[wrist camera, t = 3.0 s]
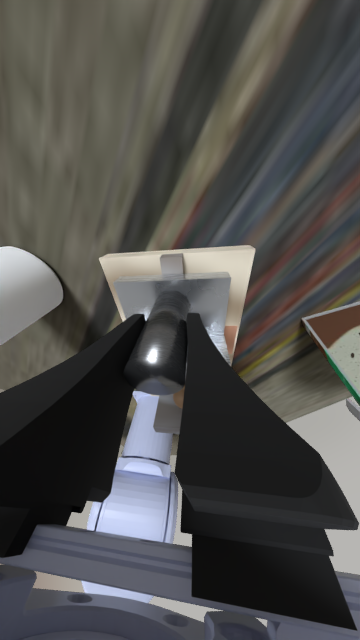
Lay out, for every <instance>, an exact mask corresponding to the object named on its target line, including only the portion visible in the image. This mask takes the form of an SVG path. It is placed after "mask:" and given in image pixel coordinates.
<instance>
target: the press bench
mask: <svg viewBox="0 0 360 640" xmlns="http://www.w3.org/2000/svg"><path fill="white" fill-rule="evenodd" d="M254 254H255V248H253V247H252V246H250V245H243V246H228V247H212V248H196V249H180V250H164V251H149V252H133V253H117V254H107V255H105V256H103V257H101V258H99V260H100V262H101V265H102V268H103V270H104V273H105V276H106V278H107V281H108V284H109V286H110V289H111V292H112V294H113V297H114V300H115V302H116V305H117V308H118V310H119V313H120V315H121V318H122V321H125V320H126V318H125V315H124V312H123V309H122V306H121V304H120V301H119V298H118V295H117V292H116V290H115V287H114V284H113V282H114V281H115V280H117V279H118V278H119V277H120V276H143V275H165V274H188V273H210V272H228V273H229V275H230V276H231V284H230V291H229V299H228V306H227V314H226V321H225V328H224V336H225V341H226V345H227V349H228V354H229V358H230V362H231V364H232V359H233V354H234V350H235V345H236V340H237V335H238V330H239V326H240V321H241V316H242V311H243V306H244V302H245V297H246V292H247V287H248V283H249V278H250V273H251V268H252V263H253V259H254ZM230 366H231V365H230ZM185 379H186V377H185ZM184 389H185V385H184V387H183V389H182V390H180V391H179V392H177V393H175V394H171V395H152V394H150V395H151V396H159V399H158V404H157V409H156V414H155V419H154V425H153V428H154V430H155V432H160V433H172V434H180V425H181V417H182V408H183V399H184Z"/></svg>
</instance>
